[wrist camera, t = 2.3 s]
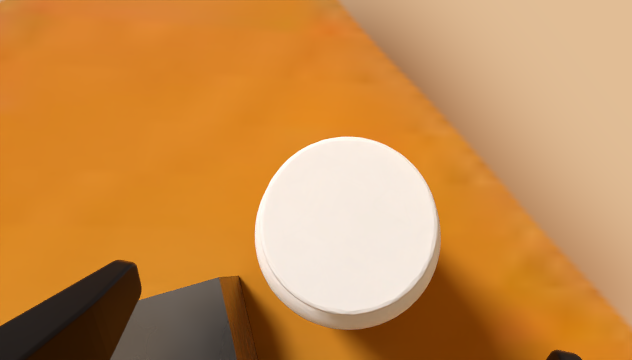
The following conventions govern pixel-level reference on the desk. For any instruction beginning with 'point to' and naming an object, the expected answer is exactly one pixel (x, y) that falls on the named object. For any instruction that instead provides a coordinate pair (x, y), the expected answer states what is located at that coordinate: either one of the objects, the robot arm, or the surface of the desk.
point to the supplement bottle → (348, 233)
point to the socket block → (190, 325)
